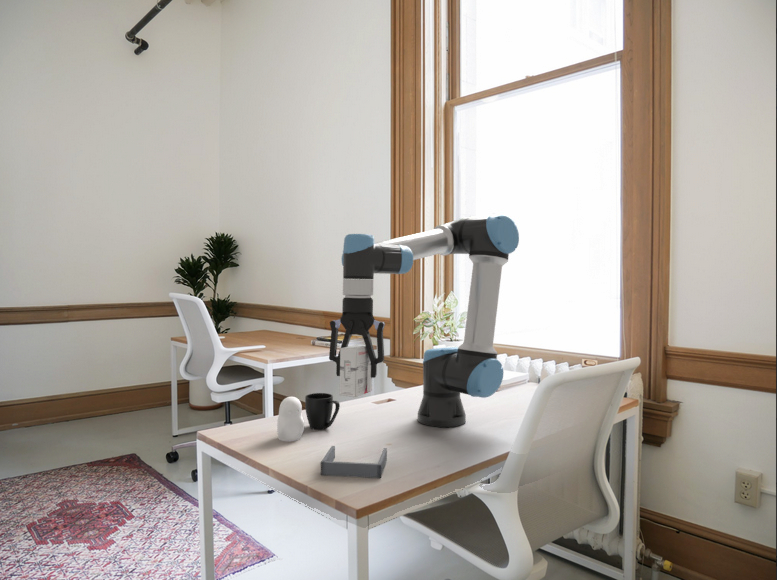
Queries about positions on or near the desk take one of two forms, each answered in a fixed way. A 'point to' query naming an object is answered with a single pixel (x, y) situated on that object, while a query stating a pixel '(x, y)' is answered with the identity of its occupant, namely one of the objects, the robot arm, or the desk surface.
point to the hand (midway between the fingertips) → (356, 389)
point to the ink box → (353, 370)
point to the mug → (320, 410)
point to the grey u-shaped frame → (352, 466)
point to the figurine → (290, 420)
